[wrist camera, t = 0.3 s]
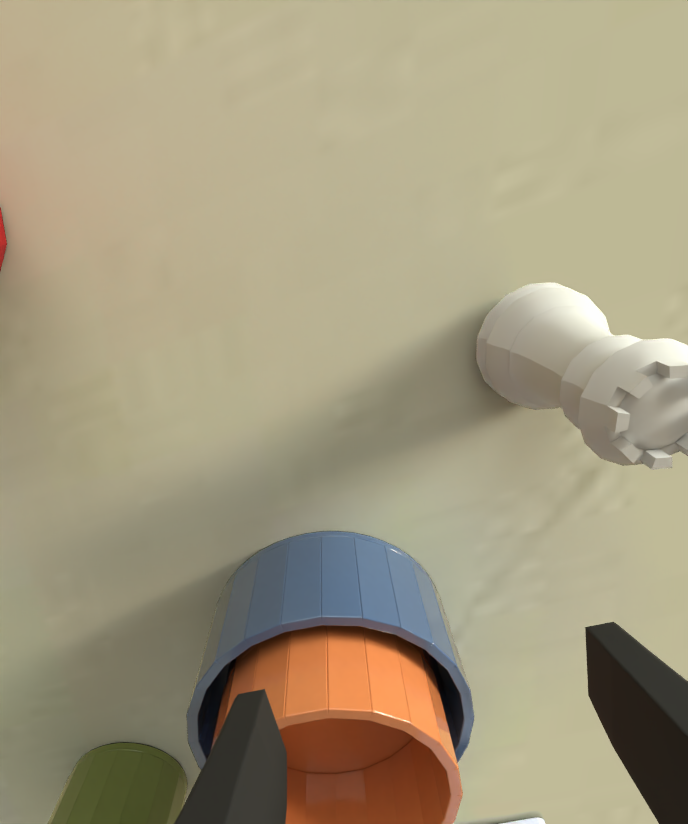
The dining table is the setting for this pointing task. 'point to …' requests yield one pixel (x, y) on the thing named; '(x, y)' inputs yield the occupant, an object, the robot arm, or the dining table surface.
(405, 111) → the dining table surface
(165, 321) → the dining table surface
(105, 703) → the dining table surface
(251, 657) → the stack mid
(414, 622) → the stack big
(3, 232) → the plastic cup
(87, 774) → the olive cup
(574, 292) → the rook chess piece
